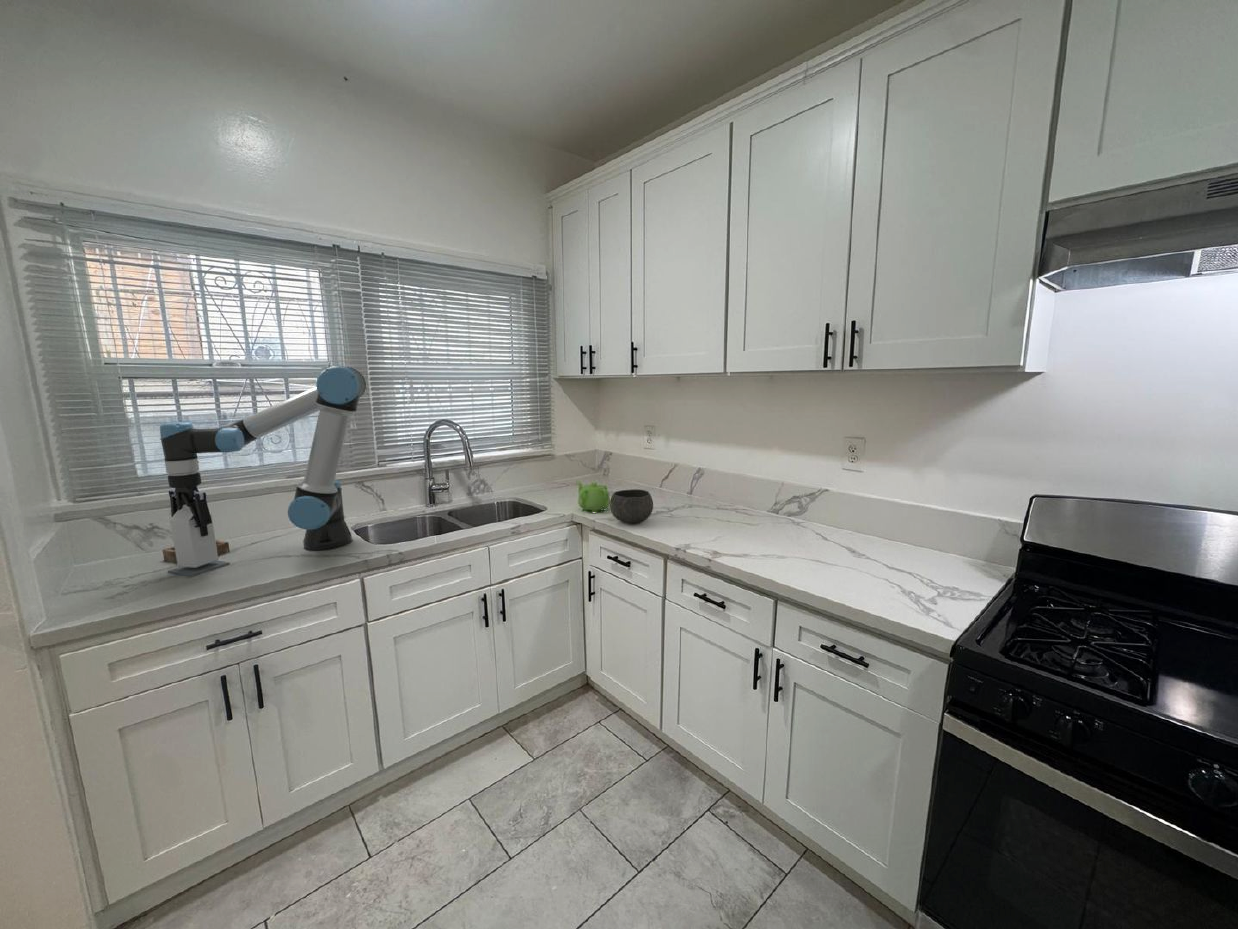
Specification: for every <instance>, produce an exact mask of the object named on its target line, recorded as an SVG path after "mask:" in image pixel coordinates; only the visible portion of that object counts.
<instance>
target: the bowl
mask: <svg viewBox="0 0 1238 929" xmlns="http://www.w3.org/2000/svg"><path fill="white" fill-rule="evenodd" d="M609 509H610V513H611V514H612V516H613V517H614V518H615V519H616V520H618V521H619V522H621V523H625V524H627V523H628V524H627V525H637V524H636V523H638V524H641V523H643V522H644V521H646V520H648V519H649V517H650V516H651V514H652V513H653V509H654V500H653V498H652V494H651V493H650V492H649V491H647V490H645V489H637V488H634V489H622V490H617V491H615V492H613V493H612V495H611V497H610V504H609Z"/></svg>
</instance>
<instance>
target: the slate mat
mask: <svg viewBox="0 0 1238 929" xmlns="http://www.w3.org/2000/svg"><path fill="white" fill-rule="evenodd" d="M229 565H230V561H225V560H224V561H223V560H219V559H218V560H215V561H213V562H210V563H207V564H204V565H202V566H199V567H196V568H194V567H183V566H177V567H174V568H172V569H169V570H167V573H168V574H174V575H178V576H182V577H183V576H184V577H186V578H187V577H188V578H193V577H195V576H199V575H201V574H204V573H207V572H210V571H213V570H217V569H219V568H222V567H225V566H229Z"/></svg>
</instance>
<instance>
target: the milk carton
mask: <svg viewBox="0 0 1238 929" xmlns="http://www.w3.org/2000/svg"><path fill="white" fill-rule="evenodd" d="M210 516H211V520H212V523H211V524H208V525H207V529H208V535H209V542H210V545H207V546H204V547H199V546H198V540H197V534H196V528H195V527H194V526H196V525H197V524H196V522H195V519H194V517H193V514H192V512H191V510H190V508H189V507H187V505H183V508H182V509H181V510H178V511H177V512H176V513H175V514H174V516H173V517H172V516H171V518H170V519H169V524H170V529H171V535H172V539H173V547H175V553H176V558H177V562H176V563H177V564H176V565H177V567H181V566H183V567H194V568H196V567H199V566H202V565H204V564H207V563H210V562H213V561H215V560H219V555H218V553H217V547H216V540H217V539H216V535H215V529H214V528H215V527H214V524H213V523H214V522H213V517H212V514H210Z"/></svg>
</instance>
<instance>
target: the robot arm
mask: <svg viewBox="0 0 1238 929" xmlns="http://www.w3.org/2000/svg"><path fill="white" fill-rule="evenodd" d="M366 389H367V381H366V378H365V377H364V376H363V374H362V373H361V372H360V371H358V370H357V369H355V368H352V367H350V366H342V365H334V366H330V367H328V368H326V369H324V370H322V371H321V373H319V375H318V376H317V379H316V386H314V387H311V388H310V389H308V390H305V391H303V392H301V393H298V394H297V395H294V396H291V397H290V398H287V399H285V400H283V401H281V402H278V403H277V404H274V405H272V406H269V407H267V408H265V409H263V410H261V411H258V412H256V413H253V414H252V415H249V416H247V417H245V418H242V419H241V420H239V421H235V422H234V423H232V424H229V425H224V426H220V427H213V428H212V427H211V428H194V426H193V424H192V422H189V421H188V422H182V421H181V422H168V423H162V424H161V425H160V427H159V432H160V433H159V434H160V438H159V440H160V441H161V447H162V452H163V457H164V466H165V472H166V474H167V475H168V476H167V481H168V487H170V488H171V489H173V490H169V491H168V495H169V501H170V512H171V513H170V514H171V516H170V517H171V518H172V517H173V516H174V514H175V513H176V512H177V511H178V510H181V509H182V508H183V505H187V507H189V508H190V510H191V512H192V514H193V517H194V519H195V522H196V524H197V525H196V526H194V527H195V528H196V534H197V540H198V546H199V547H204V546H207V545H210V542H209V535H208V529H207V525H208V524H211V523H212V521H213V519H212V520H211V516H212V515H211V516H210V509H209V505H208V501H207V493H206V492H201V491H199V489H198V486H200V485H201V484H202V477H201V476H202V475H201V473H200V472H199V471H200V465H199V463H200V461H199V460H198V458H199V457H198V454H207V453H208V454H209V453H210V454H214V453H225V454H226V453H227V454H229V453H234V452H235V453H236V452H240V451H241V450H242V449H243V448H244V446H247V445H249V444H250V443H252V442H253V441H256V440H257V439H258V440H259V439H260V438H262V437H264V436H266V435H268V434H271V433H273V432H275V431H278V430H280V429H282V428H285V427H287V426H288V425H291V424H293V423H295V422H297V421H300V420H302V419H304V418H306V417H309V416H310V415H312V414H315V413H317V412H318V417H317V420H316V423H315V424H316V425H315V429H314V434H313V438H312V442H311V448H310V451H309V456H308V460H307V465H306V470H305V474H304V479H303V480H302V481H300V482H298V483H297V484H296V488H295V493H294V497H293V500H292V501H291V502H290V504H289V505H288V508H287V517H288V519H289V521H290V522H291V523H292V524H293V526H295V527H297V528H298V529H303V530H305V533H304V538H303V541H302V542H303V548H304V549H305V550H308V551H323V550H324V551H325V550H326V551H327V550H332V549H336V548H340V547H343V546H346V545H348V544H350V543H351V542H352V541H353V537H352V532H351V530H350V529H349V526H348V525H347V523H346V520H345V515H344V514H345V513H344V512H345V511H344V504H343V494H342V493H343V492H342V490H343V489H342V486H341V483H340V481H338V480H336V476H337V472H338V468H339V463H340V459H341V455H342V450H343V446H344V443H345V442H344V441H345V438H346V433H347V428H348V425H349V424H348V423H349V420H350V416H351V415H354V414H355V413H356V412H357V409H358V406H359V399H360V398H362V396H363V395H364V394H365V391H366Z"/></svg>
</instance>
